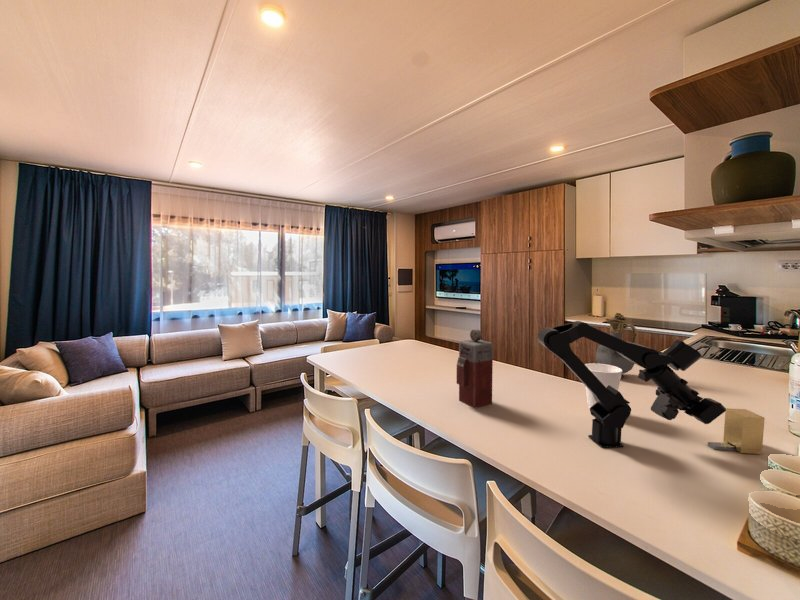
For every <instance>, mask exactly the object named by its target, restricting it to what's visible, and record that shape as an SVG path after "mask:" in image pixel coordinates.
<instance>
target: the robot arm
mask: <svg viewBox="0 0 800 600" xmlns="http://www.w3.org/2000/svg"><path fill="white" fill-rule="evenodd" d="M582 338H586V339H587V340H590V341H592V342H594V343H595V344H599V345H603V346H605V347H607V348H610V349H612V350H614V351H616V352H617V353H619V354H620V355H621V356H623V357H624V358H626V359H627V360H629V361H630V362H632V363H634V365H636V366H638V367H639V368H643V369H639V370H638V371H639V373H638V376H637V378H638V379H640V380H642V381H643V382H645V383H648V382H649V381H650V380H651V381H652V383H654V384H655V385H656V386H657V387H656V389H655V395H656V396H657V397H656V398H655V400H654V401H653V403H652V405H651V406H650V411H652V412H653V413H655V414H656V415H658V416H660V417H661V418H663V419H665V420H668V421H672V420H674V419H676V418H677V416H678V415H679V414H680V411H683V413H685V414H686V415H688V416H690V417H694V419H696V420H697V421H699V422H701V423H702V424H704V425H709V424H712V422H713V421H715V420H716V419H717V418H719V417H720V416H721V415H723V414H725V411H726V408H727V407H726V406H724V405H723V404H722V403H721V402H719V401H716V400H714V399H712V398H710V397H709V398H708V397H701V396H699V395H700V393H699V392H698V391H697V390H696V389H693V388H691V387H690V386H689V382H688V381H687V380H686V379H683V378H681V377H680V376H679V375H678V374H677V373H676V372H675V371H683V372H685V371H687V370H688V369H689V368H690V367H692V365H694V364H695V363H696V362H698V361H699V360H700V359H702V353H700V351H698V350H697V349H695V348H694V347H692V346H690V345H689V344H687V343H686V342H684V341H683V340H681V339H676V340H675V341H674V342H673V343H672V344H671V345H670V346H669V347H668V348H666V349H665V350H664V351H663V352H662V351H660V350H657V349H654V348H652V347H651V348H650V347H648V346H645V345H643V344H640V343H635V342H634V343H632V341H627V340H623V339H622V340H621V339H619V338H616V337H614V336H612V335H610V333H607V332H605V331H602V330H600V329H598V328H596V327H593V326H592V325H590V324H588V322H584V321H580V320H576V321H573V322H571V323H565V324H562V325H556V326H553V327H550V326H546V327H543V328H541V329H540V330H539V331H538V333H537V341H538V343H539V344H541V345H542V346H543V347H545V348H546V349H547V350H549V352H551V353H552V354H553V355H555V356H556V357H558V358H559V360H561V361H562V362H563V364H565V366H566V367H567V368H569V370H570V371H571V372H572V373H573V375H574V376H576V377H577V378H578V379H579V380H580V382H581V383H582V384H583V385H584V387H585V386H586V387H587V388H588V389H589V390H590V391H591V393H592V394H593V397H594V399H595V401H596V402H597V403H595V404H594V405H593V406H592V407H591V408H590V409H589V408H588V411H589V410H590V411H589V413H590V415H591V416H592V417H594V418H593V419H592V420H591V421H592V424H591V434H588V436H587V437H588V438H589V440H592V441H593V442H594V443H595V444H597V445H598V446H599V447H600V448H605V449H606V448H609V449H610V448H623V447H624V444H623V443H622V429H623V428H624V426H625V424H626V421H627V420H628V418H630V417H631V416H630V415H631V412H632V408H631V406H630V405H629V404H631V402H630V401H629V400H627V399H626V398H624V396H623V394H622V393H621V392H620V391H619V390H618V391H617V390H616V389H614V388H613V387H611V386H610V385H608V386H607V387H605V386H604V385H603V384H602V383H601V382H600V381H599V380H598V378H597V377H596V376H595V375H594V374H593V373H592V372H591V371H590V370H589V369H588V368H587V367H586V366H585V365H584V364H585V363H584V362H582V361H583V360H581V359H580V358H579V357H578V355H576V354H575V352H574V351H573V349H572V346H571V345H570V344H572V343H574V342H576V341H577V340H579V339H582ZM674 370H675V371H674ZM586 387H585V388H586Z"/></svg>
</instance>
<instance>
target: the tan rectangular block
mask: <svg viewBox="0 0 800 600" xmlns="http://www.w3.org/2000/svg"><path fill="white" fill-rule="evenodd" d="M725 408H726V411H725V412H724V426H723V439H722V440H723V441H722V443H731V444H733V445H735V446H736V450H737V451H736V452H738V453H740V454H756V455H762V454H763V445H764V444H763V443H764V431H765V420H766V419H765V417H764V416H762V415H760V414H757V413H755V412H754V411H751V410H748V409H746V408H727V407H725Z"/></svg>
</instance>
